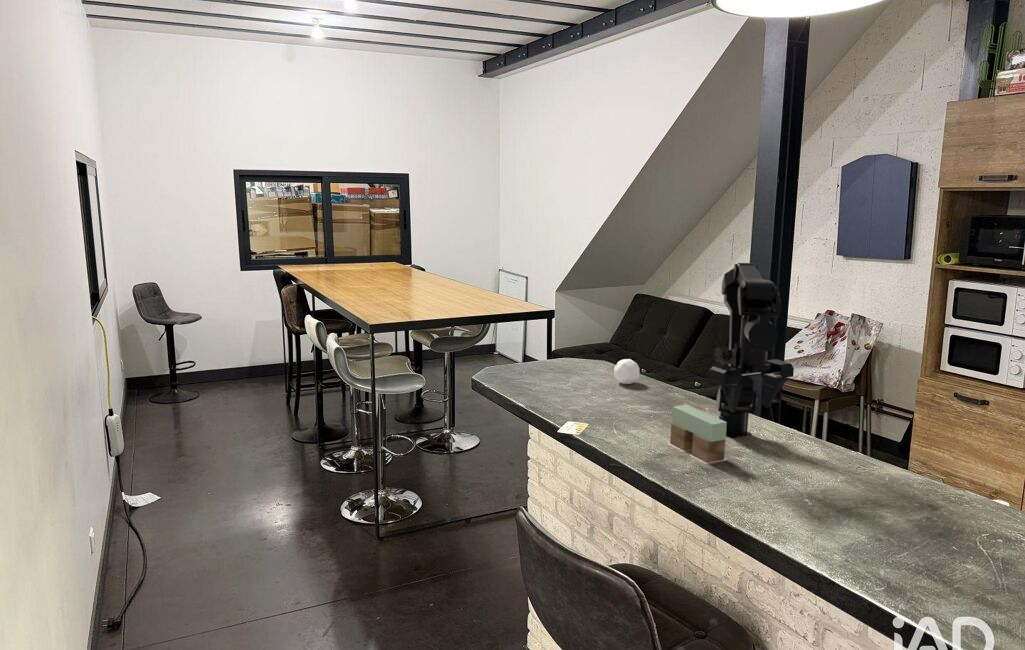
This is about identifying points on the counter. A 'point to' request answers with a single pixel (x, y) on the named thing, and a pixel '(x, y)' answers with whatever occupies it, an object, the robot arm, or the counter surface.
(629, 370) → the white faceted ovoid
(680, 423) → the plank
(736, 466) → the counter surface
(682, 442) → the brown wooden cube
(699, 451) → the tan wood block
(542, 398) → the counter surface
